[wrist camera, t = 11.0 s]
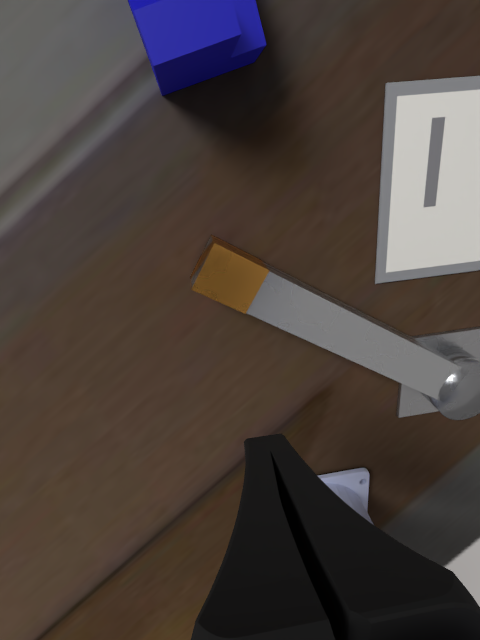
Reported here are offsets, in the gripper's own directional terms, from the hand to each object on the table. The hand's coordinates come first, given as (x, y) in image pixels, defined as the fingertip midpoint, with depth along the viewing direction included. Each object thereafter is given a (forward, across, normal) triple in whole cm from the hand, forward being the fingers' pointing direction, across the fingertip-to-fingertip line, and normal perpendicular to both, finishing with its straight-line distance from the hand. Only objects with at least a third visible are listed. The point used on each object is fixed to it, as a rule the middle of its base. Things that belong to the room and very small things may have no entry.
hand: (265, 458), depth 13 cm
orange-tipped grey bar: (+10, -7, 0) cm, 12 cm away
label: (+10, -14, -8) cm, 19 cm away
